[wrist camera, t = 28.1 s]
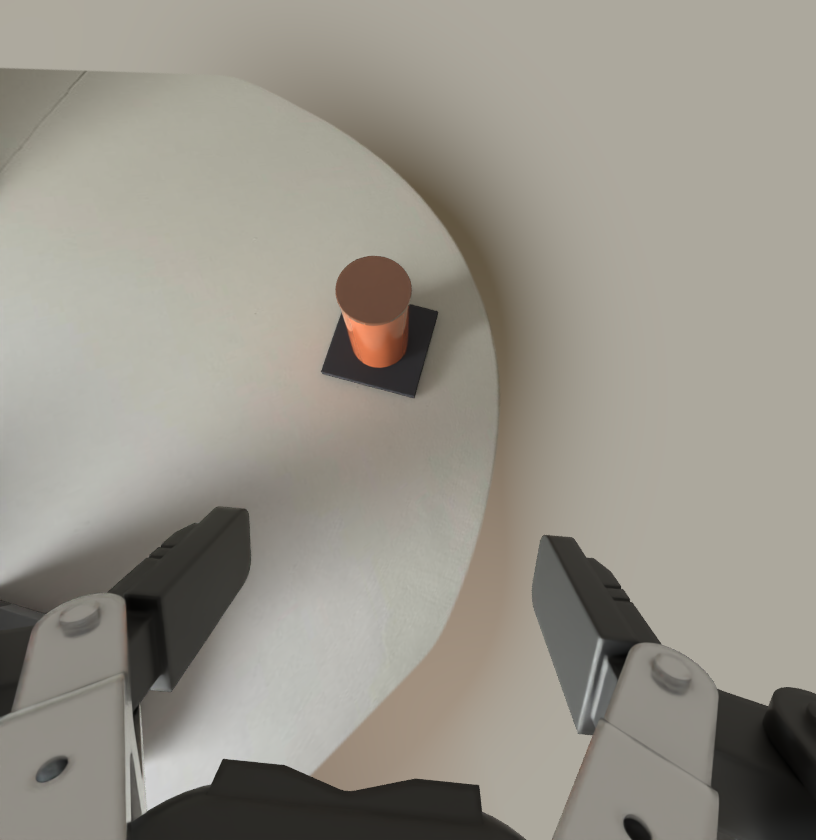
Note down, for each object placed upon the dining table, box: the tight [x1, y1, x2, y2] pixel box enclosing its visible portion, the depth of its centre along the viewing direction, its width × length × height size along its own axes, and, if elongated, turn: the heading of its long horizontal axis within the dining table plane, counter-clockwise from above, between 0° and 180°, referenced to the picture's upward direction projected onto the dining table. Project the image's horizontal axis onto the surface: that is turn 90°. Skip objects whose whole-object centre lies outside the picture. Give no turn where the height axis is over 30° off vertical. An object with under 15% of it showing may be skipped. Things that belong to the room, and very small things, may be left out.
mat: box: [321, 304, 438, 398], centre depth 43 cm, size 10×10×1 cm
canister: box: [336, 256, 412, 368], centre depth 38 cm, size 6×6×10 cm
